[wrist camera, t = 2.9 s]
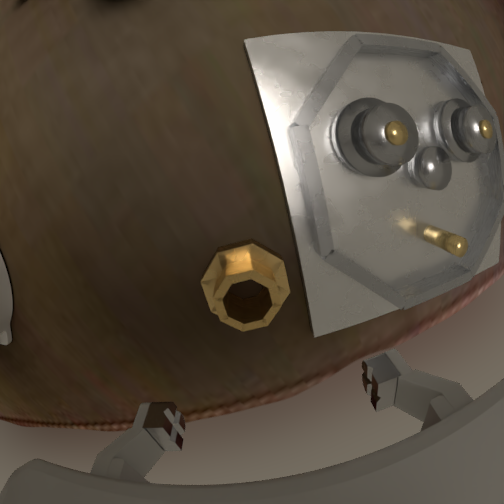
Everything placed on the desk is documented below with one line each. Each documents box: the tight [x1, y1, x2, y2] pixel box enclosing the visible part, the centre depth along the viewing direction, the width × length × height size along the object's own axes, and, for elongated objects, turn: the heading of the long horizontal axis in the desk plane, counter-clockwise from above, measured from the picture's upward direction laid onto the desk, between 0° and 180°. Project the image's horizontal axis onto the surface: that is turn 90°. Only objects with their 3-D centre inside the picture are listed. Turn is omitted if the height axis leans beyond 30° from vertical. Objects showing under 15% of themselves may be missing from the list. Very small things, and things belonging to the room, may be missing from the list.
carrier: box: [243, 31, 504, 337], centre depth 18 cm, size 25×25×6 cm
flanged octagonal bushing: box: [201, 239, 290, 332], centre depth 20 cm, size 6×6×4 cm
